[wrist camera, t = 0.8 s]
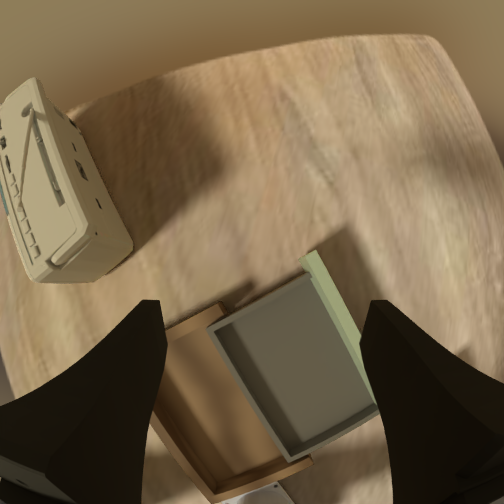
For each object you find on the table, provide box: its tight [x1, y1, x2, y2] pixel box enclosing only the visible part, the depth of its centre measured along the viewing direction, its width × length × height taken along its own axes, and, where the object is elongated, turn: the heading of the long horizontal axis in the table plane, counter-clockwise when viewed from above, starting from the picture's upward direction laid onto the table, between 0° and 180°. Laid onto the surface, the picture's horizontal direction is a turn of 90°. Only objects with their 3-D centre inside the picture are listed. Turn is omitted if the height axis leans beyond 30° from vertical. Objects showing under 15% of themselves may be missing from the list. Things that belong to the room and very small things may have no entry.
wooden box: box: [150, 301, 314, 504], centre depth 32 cm, size 13×21×4 cm, turn 29°
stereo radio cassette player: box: [0, 78, 134, 284], centre depth 26 cm, size 21×8×20 cm, turn 32°
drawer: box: [206, 250, 381, 463], centre depth 31 cm, size 14×21×4 cm
